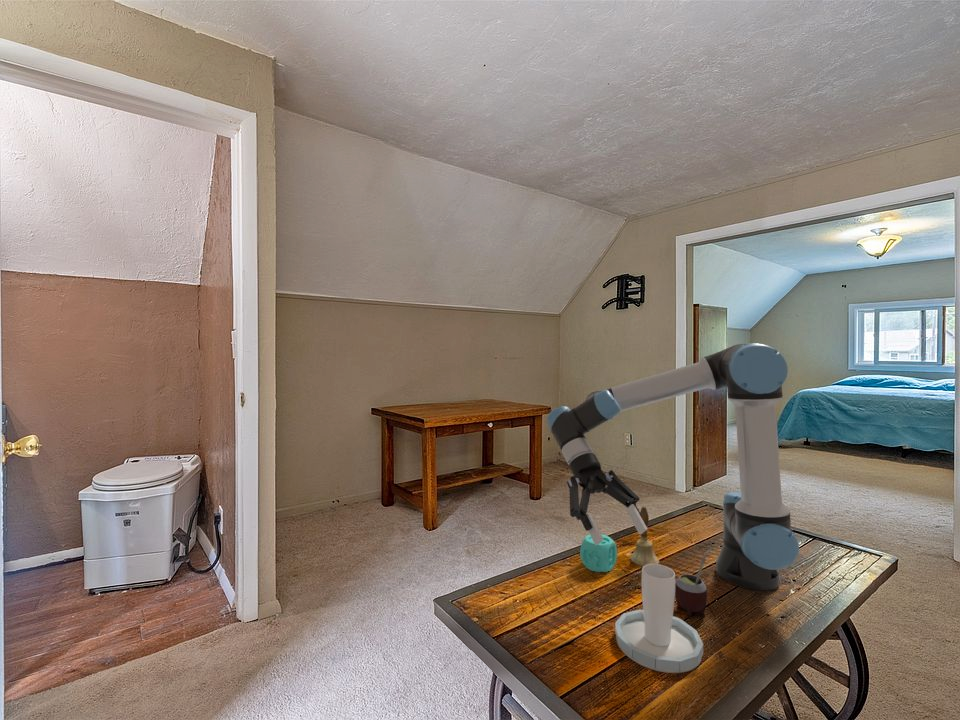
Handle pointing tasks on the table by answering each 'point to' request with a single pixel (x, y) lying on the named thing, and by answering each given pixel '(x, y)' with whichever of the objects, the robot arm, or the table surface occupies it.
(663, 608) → the drinking glass
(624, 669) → the table surface
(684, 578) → the mate gourd
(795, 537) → the robot arm
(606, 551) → the decorative dice
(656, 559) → the hand bell
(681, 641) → the dish
